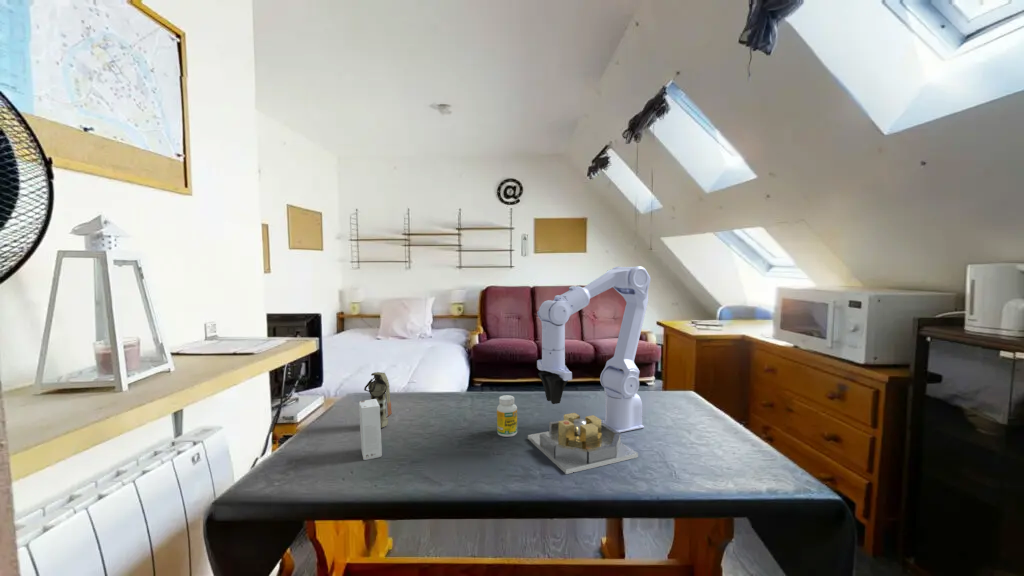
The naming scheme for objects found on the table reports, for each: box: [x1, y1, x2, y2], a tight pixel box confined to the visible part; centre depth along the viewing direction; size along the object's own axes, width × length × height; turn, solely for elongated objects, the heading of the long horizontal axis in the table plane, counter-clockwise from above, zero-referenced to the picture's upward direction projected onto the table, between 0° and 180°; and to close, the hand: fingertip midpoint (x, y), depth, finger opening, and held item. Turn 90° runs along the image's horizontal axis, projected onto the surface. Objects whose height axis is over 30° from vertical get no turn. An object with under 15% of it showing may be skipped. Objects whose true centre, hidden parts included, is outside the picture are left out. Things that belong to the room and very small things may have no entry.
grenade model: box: [363, 371, 393, 429], centre depth 108 cm, size 6×7×15 cm
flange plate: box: [527, 418, 639, 475], centre depth 95 cm, size 19×19×7 cm
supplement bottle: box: [496, 394, 518, 438], centre depth 104 cm, size 5×5×10 cm
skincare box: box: [358, 398, 383, 461], centre depth 93 cm, size 6×4×12 cm
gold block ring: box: [558, 412, 602, 449], centre depth 95 cm, size 10×10×6 cm
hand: (553, 401), depth 99 cm, fingers closed
